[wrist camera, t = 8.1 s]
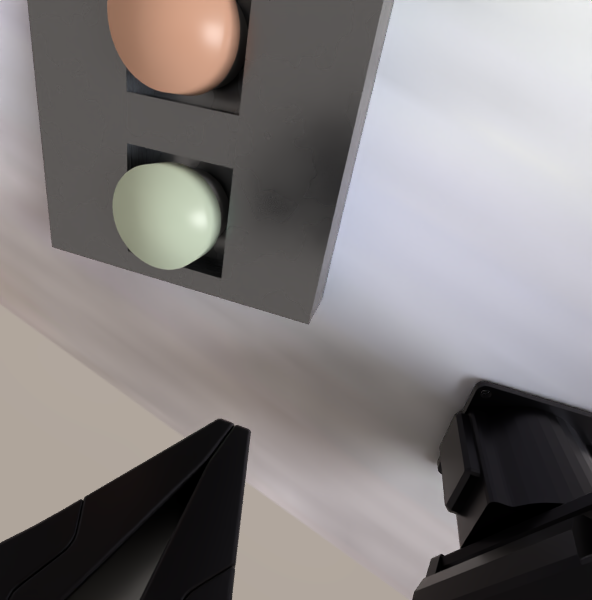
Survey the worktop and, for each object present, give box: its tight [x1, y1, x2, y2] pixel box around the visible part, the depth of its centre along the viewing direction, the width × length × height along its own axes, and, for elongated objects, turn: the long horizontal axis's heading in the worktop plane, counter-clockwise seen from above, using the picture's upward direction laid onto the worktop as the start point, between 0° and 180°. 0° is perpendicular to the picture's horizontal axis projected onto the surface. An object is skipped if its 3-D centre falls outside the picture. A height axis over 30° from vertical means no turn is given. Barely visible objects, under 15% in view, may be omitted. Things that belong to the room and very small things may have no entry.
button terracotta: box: [107, 0, 248, 96], centre depth 14 cm, size 4×4×3 cm
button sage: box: [113, 162, 229, 270], centre depth 18 cm, size 4×4×3 cm
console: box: [27, 0, 394, 324], centre depth 16 cm, size 14×21×3 cm, turn 169°
